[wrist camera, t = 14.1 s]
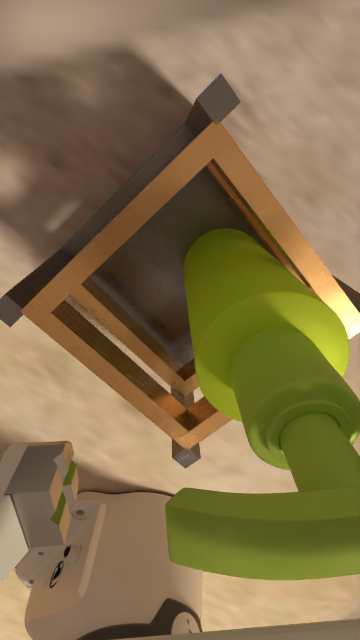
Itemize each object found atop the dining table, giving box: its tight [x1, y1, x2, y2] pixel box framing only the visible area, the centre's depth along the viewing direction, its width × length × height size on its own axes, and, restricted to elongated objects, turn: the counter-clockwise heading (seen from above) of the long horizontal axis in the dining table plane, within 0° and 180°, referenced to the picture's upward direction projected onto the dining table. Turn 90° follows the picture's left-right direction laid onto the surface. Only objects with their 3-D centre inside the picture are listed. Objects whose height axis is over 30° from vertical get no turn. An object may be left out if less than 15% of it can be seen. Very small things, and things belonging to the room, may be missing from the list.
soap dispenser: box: [165, 228, 360, 580], centre depth 16 cm, size 6×7×20 cm
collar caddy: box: [0, 74, 360, 468], centre depth 21 cm, size 14×14×10 cm
